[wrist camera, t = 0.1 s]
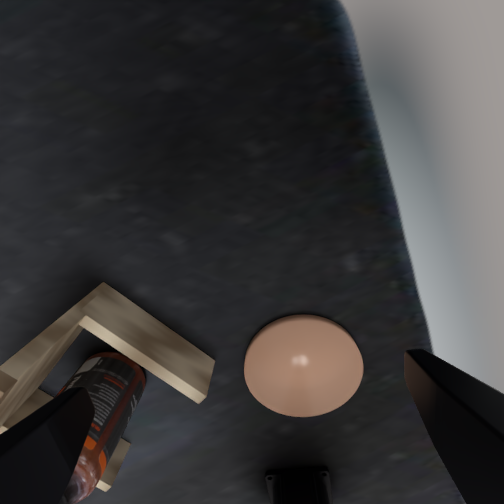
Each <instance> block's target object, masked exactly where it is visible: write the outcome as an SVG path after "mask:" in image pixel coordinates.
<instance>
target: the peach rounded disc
mask: <svg viewBox="0 0 504 504" xmlns="http://www.w3.org/2000/svg"><path fill="white" fill-rule="evenodd" d="M244 375H245V380H246V383H247V386H248V388H249V390H250V391H251V393H252V394H253V396H254V397H255V398H256V399H257V400H258V401H259V402H260V403H261V404H263V405H264V406H266V407H267V408H269V409H271V410H273V411H275V412H278V413H280V414H284V415H288V416H294V417H310V416H317V415H321V414H325V413H327V412H330V411H332V410H334V409H336V408H338V407H340V406H341V405H343V404H344V403H345V402H347V401H348V400H349V399H350V398H351V397H352V396H353V394H354V393H355V392H356V390H357V388H358V387H359V385H360V382H361V379H362V375H363V361H362V357H361V354H360V351H359V349H358V347H357V345H356V343H355V341H354V339H353V338H352V337H351V335H350V334H349V333H348V332H347V331H346V330H345V329H344V328H343V327H341V326H340V325H339V324H337V323H335V322H334V321H331V320H329V319H327V318H324V317H320V316H315V315H305V314H302V315H292V316H287V317H283V318H280V319H278V320H275V321H273V322H271V323H269V324H268V325H266V326H265V327H263V328H262V329H261V330H260V331H259V332H258V333H257V334H256V335H255V336H254V338H253V339H252V340H251V342H250V344H249V346H248V348H247V351H246V356H245V364H244Z"/></svg>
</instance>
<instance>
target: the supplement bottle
mask: <svg viewBox="0 0 504 504" xmlns="http://www.w3.org/2000/svg"><path fill="white" fill-rule="evenodd" d="M79 386H83V387H85V388H87V390H88V392H89V395H90V397H91V399H92V401H93V403H94V406H95V417H94V419H93V422H92V425H91V427H90V430H89V433H88V435H87V438H86V441H85V443H84V446H83V449H82V452H81V454H80V457H79V460H78V462H77V465H76V467H75V470H74V472H73V475H72V477H71V479H70V482H69V484H68V486H67V488H66V490H65V492H64V495H63V497H62V499H61V501H60V503H59V504H74V503H77V502H79V501H81V500H83V499H84V498H85V497H87V496H88V495H89V494H90V493H91V492H92V491H93V490H94V488H95V487H96V485H97V484H98V482H99V480H100V479H101V477H102V475H103V473H104V471H105V469H106V467H107V465H108V463H109V461H110V459H111V457H112V455H113V453H114V451H115V449H116V447H117V445H118V443H119V441H120V439H121V437H122V435H123V433H124V430H125V429H126V427H127V424H128V422H129V420H130V418H131V416H132V414H133V412H134V410H135V408H136V406H137V404H138V402H139V400H140V398H141V396H142V393H143V391H144V388H145V376H144V373H143V371H142V369H141V368H140V366H139V365H138V364H137V363H136V362H135V361H133V360H132V359H130V358H129V357H127V356H125V355H123V354H120V353H117V352H101V353H97V354H94V355H93V356H91V357H89V358H88V359H87V360H86V361H85V362H84V363H83V364H82V365H81V366H80V367H79V369H78V370H77V371H76V372H75V374H74V375H73V376H72V377H71V378H70V379H69V381H68V382H67V383H66V384H65V386H63V388H62V389H61V390H60V392H59V393H58V394H57V395H56V396H58V395H59V394H61V393H62V392H64V391H65V390H67V389H68V388H71V387H79ZM56 396H55V397H56Z"/></svg>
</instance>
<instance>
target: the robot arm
mask: <svg viewBox="0 0 504 504" xmlns="http://www.w3.org/2000/svg"><path fill="white" fill-rule="evenodd" d="M405 380H406V383H407V386H408V388H409V391H410V393H411V395H412V397H413V400H414V402H415V404H416V406H417V409H418V411H419V413H420V416H421V418H422V420H423V422H424V425H425V427H426V429H427V431H428V434H429V436H430V438H431V440H432V442H433V444H434V446H435V448H436V450H437V452H438V454H439V456H440V458H441V459H442V461H443V463H444V465H445V466H446V468H447V470H448V472H449V474H450V475H451V477H452V479H453V481H454V483H455V484H456V486H457V488H458V490H459V491H460V493H461V495H462V497H463V499H464V500H465V502H466V504H504V394H503V393H501V392H500V391H498V390H496V389H494V388H492V387H491V386H489V385H487V384H485V383H483V382H481V381H480V380H478V379H476V378H474V377H472V376H471V375H469V374H467V373H465V372H464V371H462V370H460V369H458V368H456V367H455V366H453V365H451V364H449V363H447V362H446V361H444V360H442V359H440V358H438V357H437V356H435V355H433V354H431V353H429V352H428V351H426V350H424V349H412V350H407V351H406V352H405ZM94 417H95V406H94V403H93V401H92V399H91V397H90V395H89V392H88V390H87V388H85V387H83V386H79V387H71V388H68V389H67V390H65V391H64V392H62V393H61V394H59V395H58V396H56V397H55V398H53V399H52V400H50V401H49V402H47V403H46V404H44V405H43V406H42V407H40V408H39V409H37V410H36V411H34V412H33V413H31V414H30V415H28V416H27V417H25V418H24V419H22V420H21V421H19V422H18V423H16V424H15V425H13V426H12V427H10V428H9V429H7V430H6V431H4V432H3V433H1V434H0V504H59V503H60V501H61V499H62V497H63V495H64V492H65V490H66V488H67V486H68V484H69V482H70V479H71V477H72V475H73V472H74V470H75V467H76V465H77V462H78V460H79V457H80V454H81V452H82V449H83V446H84V443H85V441H86V438H87V435H88V433H89V430H90V427H91V425H92V422H93V419H94ZM265 480H266V485H267V489H268V494H269V498H270V503H271V504H333V500H332V491H331V483H330V474H329V470H328V468H326V467H316V468H303V469H289V470H276V471H267V472H266V473H265Z"/></svg>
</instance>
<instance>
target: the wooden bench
mask: <svg viewBox="0 0 504 504" xmlns="http://www.w3.org/2000/svg"><path fill="white" fill-rule="evenodd" d="M84 328H85V329H86V330H88V331H89V332H91V333H93V334H94V335H96V336H97V337H99V338H100V339H102V340H103V341H105V342H106V343H108V344H109V345H111V346H112V347H114V348H115V349H117V350H118V351H120V352H121V353H123V354H124V355H126V356H127V357H129V358H130V359H132V360H133V361H135V362H136V363H138V364H139V365H141V366H142V367H144V368H145V369H147V370H148V371H150V372H151V373H153V374H154V375H156V376H157V377H159V378H160V379H162V380H163V381H165V382H166V383H168V384H169V385H171V386H172V387H174V388H175V389H177V390H178V391H180V392H181V393H183V394H184V395H186V396H187V397H189V398H191V399H192V400H194V401H195V402H197V403H198V404H199V403H200V402H201V401H202V400H203V399H205V398H206V397H207V393H208V389H209V384H210V380H211V376H212V371H213V367H214V363H215V360H213V359H212V358H211V357H209V356H208V355H206V354H205V353H204V352H202V351H201V350H199V349H198V348H196V347H195V346H194V345H192V344H191V343H189V342H188V341H187V340H185V339H184V338H182V337H181V336H179V335H178V334H177V333H175V332H174V331H172V330H171V329H170V328H168V327H167V326H165V325H164V324H163V323H161V322H160V321H158V320H157V319H155V318H154V317H153V316H151V315H150V314H148V313H147V312H146V311H144V310H143V309H141V308H140V307H138V306H137V305H136V304H134V303H133V302H131V301H130V300H129V299H127V298H126V297H124V296H123V295H122V294H120V293H119V292H117V291H116V290H114V289H113V288H112V287H110V286H109V285H107V284H106V283H105V282H103V283H101V284H100V285H99V286H98V287H96V288H95V289H94V290H93V291H92V292H90V293H89V294H88V295H87V296H85V297H84V298H83V299H82V300H81V301H79V302H78V303H77V304H76V305H74V306H73V307H72V308H71V309H70V310H68V311H67V312H66V313H65V314H63V315H62V316H61V317H60V318H59V319H57V320H56V321H55V322H54V323H52V324H51V325H50V326H49V327H48V328H46V329H45V330H44V331H43V332H41V333H40V334H39V335H38V336H37V337H35V338H34V339H33V340H32V341H30V342H29V343H28V344H27V345H26V346H24V347H23V348H22V349H21V350H19V351H18V352H17V353H16V354H15V355H13V356H12V357H11V358H10V359H8V360H7V361H6V362H5V363H4V364H2V365H1V366H0V434H1V433H3V432H4V431H6V430H7V429H9V428H10V427H12V426H13V425H15V424H16V423H18V422H19V421H21V420H22V419H24V418H25V417H27V416H28V415H30V414H31V413H33V412H34V411H36V410H37V409H39V408H40V407H42V406H43V405H44V404H46V403H47V402H49V401H50V400H52V399H53V397H52V396H50V395H48V394H47V393H45V392H43V391H42V390H40V389H38V387H39V386H40V385H41V383H42V382H43V381H44V379H45V378H46V377H47V375H48V374H49V373H50V372H51V370H52V369H53V368H54V366H55V365H56V364H57V362H58V361H59V360H60V359H61V357H62V356H63V355H64V353H65V352H66V351H67V349H68V348H69V347H70V346H71V344H72V343H73V342H74V340H75V339H76V338H77V336H78V335H79V334H80V333H81V331H82V330H83V329H84ZM130 445H131V444H130V443H128V442H127V441H125V440H123V439H122V438H121V439H120V441H119V443H118V445H117V447H116V449H115V451H114V453H113V455H112V457H111V459H110V461H109V463H108V465H107V467H106V469H105V471H104V473H103V475H102V477H101V479H100V480H99V482H98V484H97V485H96V487H98V488H99V489H101V490H103V491H105V492H106V491H107V490H108V489H109V488H110V487H111V486H112V484H113V482H114V480H115V478H116V475H117V473H118V471H119V469H120V467H121V464H122V462H123V460H124V458H125V456H126V453H127V451H128V449H129V447H130Z"/></svg>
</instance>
